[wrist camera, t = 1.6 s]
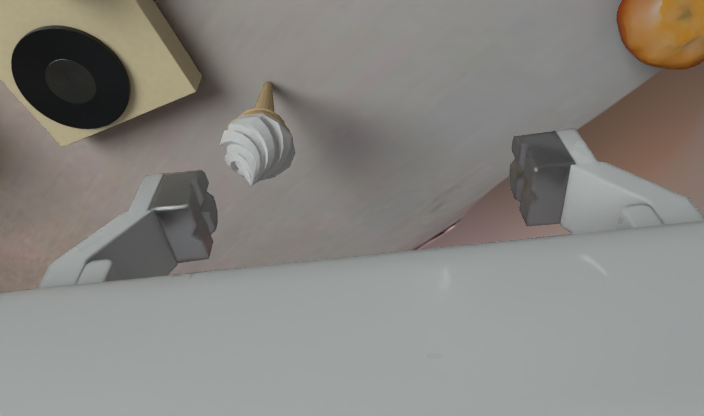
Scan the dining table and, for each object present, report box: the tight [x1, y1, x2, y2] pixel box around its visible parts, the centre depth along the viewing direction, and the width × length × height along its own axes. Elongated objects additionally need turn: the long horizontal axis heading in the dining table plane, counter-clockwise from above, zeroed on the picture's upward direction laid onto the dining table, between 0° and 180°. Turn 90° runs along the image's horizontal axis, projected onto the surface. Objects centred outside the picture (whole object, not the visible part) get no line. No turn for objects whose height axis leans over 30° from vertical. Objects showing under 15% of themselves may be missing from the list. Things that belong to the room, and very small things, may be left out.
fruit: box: [617, 0, 704, 69], centre depth 43 cm, size 8×8×8 cm
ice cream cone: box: [220, 82, 295, 186], centre depth 43 cm, size 6×6×15 cm
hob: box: [0, 0, 202, 147], centre depth 43 cm, size 18×15×3 cm
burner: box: [11, 25, 131, 129], centre depth 44 cm, size 9×9×1 cm
